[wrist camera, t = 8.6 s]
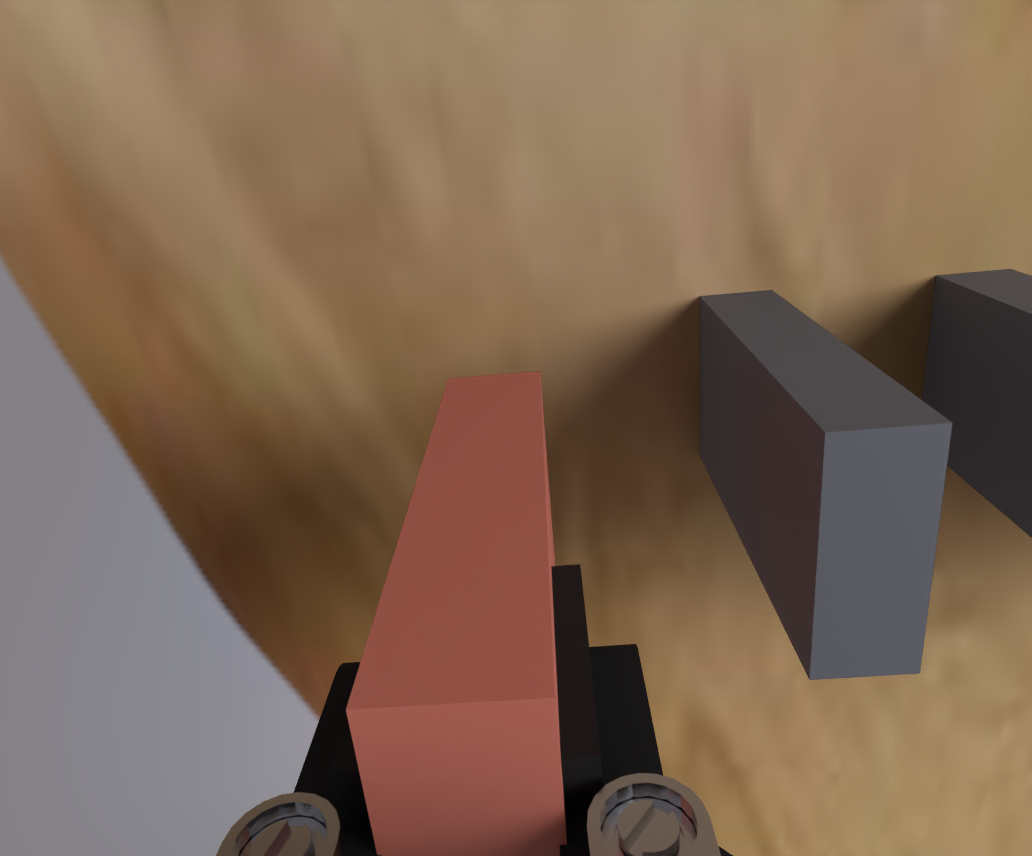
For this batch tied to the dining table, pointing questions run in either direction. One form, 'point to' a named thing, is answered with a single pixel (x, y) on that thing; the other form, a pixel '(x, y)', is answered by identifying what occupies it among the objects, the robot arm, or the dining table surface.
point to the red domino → (468, 643)
